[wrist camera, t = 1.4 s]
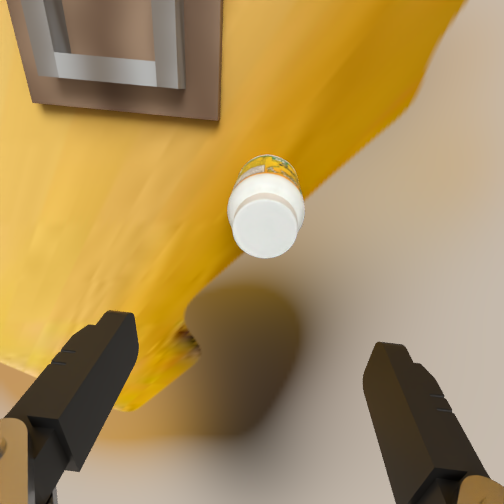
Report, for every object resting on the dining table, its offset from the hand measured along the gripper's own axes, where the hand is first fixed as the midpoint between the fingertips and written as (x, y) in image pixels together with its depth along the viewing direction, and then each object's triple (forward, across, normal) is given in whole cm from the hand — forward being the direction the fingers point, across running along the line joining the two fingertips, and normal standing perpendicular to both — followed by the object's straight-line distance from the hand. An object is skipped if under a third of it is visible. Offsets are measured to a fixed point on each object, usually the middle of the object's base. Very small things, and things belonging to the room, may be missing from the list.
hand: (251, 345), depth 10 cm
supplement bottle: (+19, 0, 0) cm, 19 cm away
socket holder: (+19, +12, -12) cm, 25 cm away
